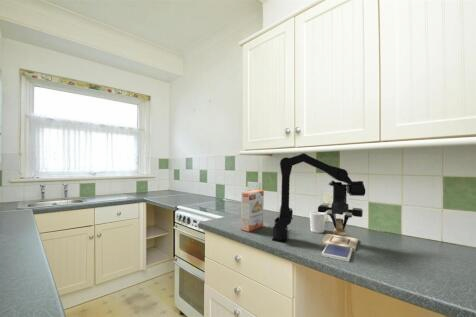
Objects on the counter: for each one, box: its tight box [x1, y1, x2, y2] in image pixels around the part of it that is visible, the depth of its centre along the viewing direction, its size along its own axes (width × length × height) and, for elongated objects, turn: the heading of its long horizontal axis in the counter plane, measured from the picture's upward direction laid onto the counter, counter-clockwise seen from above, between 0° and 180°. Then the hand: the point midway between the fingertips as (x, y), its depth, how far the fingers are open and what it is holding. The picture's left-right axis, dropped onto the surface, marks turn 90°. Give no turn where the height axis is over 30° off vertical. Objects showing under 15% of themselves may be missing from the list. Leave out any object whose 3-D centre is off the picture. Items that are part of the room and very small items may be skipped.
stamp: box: [332, 217, 347, 237], centre depth 108 cm, size 5×5×7 cm
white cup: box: [309, 210, 326, 234], centre depth 125 cm, size 8×8×10 cm
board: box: [320, 233, 359, 251], centre depth 108 cm, size 14×14×1 cm
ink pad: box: [321, 244, 353, 262], centre depth 95 cm, size 10×12×2 cm
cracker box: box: [240, 189, 265, 233], centre depth 130 cm, size 14×6×21 cm, turn 140°
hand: (339, 228), depth 108 cm, fingers closed on stamp, 3 cm apart
